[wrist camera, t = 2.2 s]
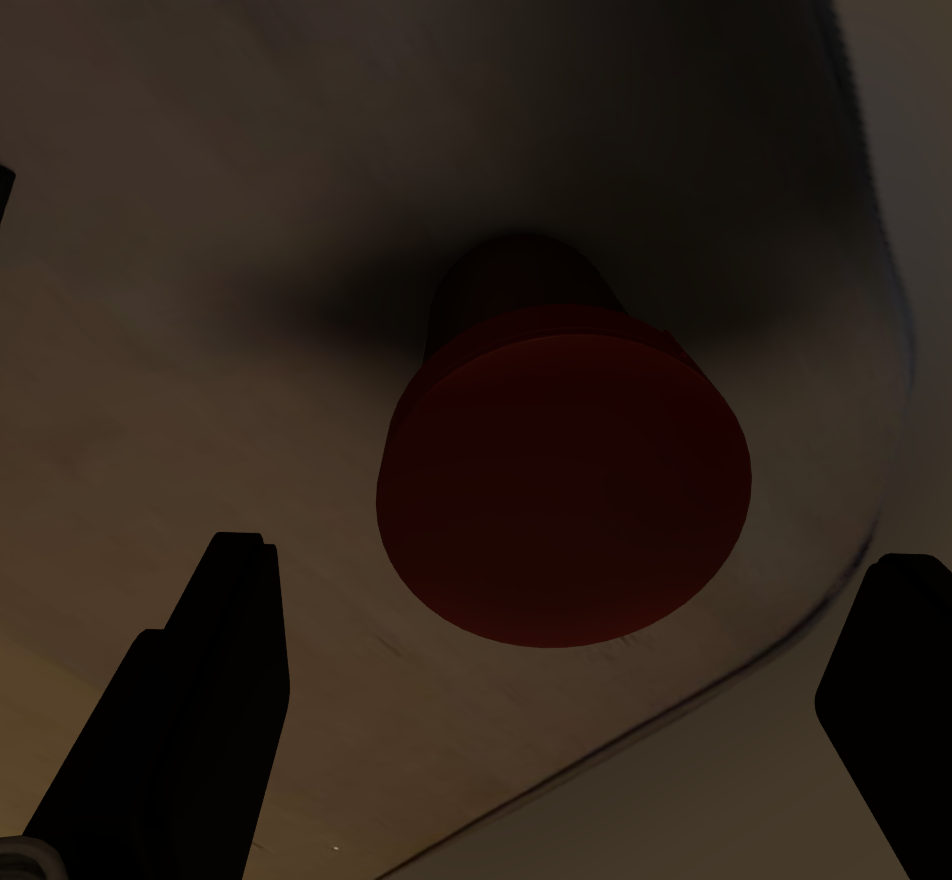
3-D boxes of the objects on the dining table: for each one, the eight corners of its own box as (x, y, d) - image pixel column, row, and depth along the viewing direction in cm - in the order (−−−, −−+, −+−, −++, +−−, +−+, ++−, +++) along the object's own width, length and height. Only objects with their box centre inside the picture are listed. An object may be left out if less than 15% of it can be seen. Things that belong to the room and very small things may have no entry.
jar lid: (513, 223, 11) (520, 244, 10) (796, 418, 13) (837, 460, 11) (326, 506, 14) (309, 557, 12) (582, 636, 15) (595, 693, 14)
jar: (497, 192, 19) (523, 287, 10) (651, 301, 20) (783, 459, 12) (394, 353, 21) (348, 537, 12) (541, 440, 22) (587, 655, 14)
